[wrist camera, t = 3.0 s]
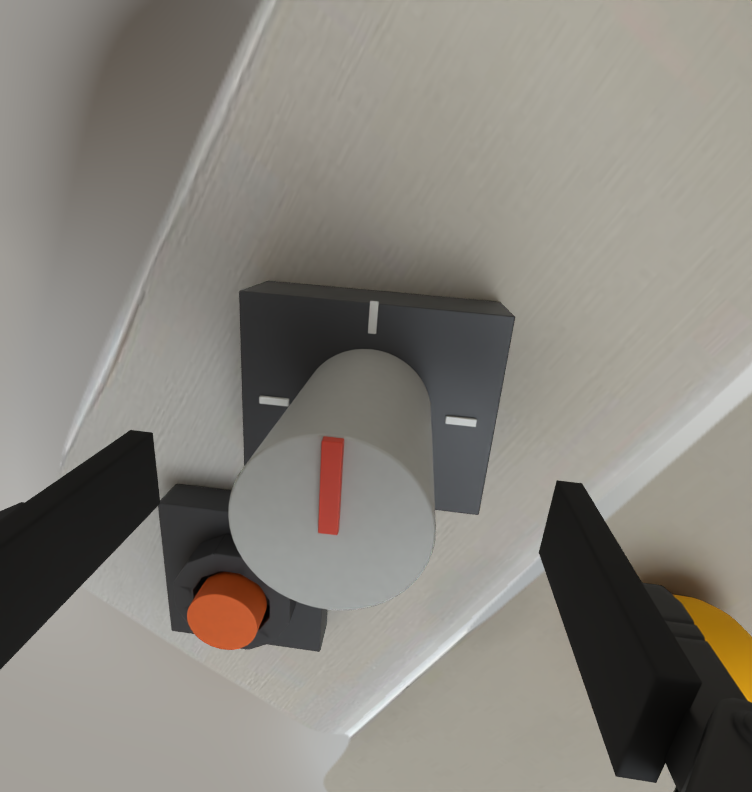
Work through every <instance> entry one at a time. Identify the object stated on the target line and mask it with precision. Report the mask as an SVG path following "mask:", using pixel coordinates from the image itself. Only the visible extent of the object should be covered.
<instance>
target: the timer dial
mask: <svg viewBox="0 0 752 792" xmlns="http://www.w3.org/2000/svg"><path fill="white" fill-rule="evenodd" d="M228 517H229V526H230V531H231V534H232V538H233V541H234V543H235V545H236V548H237V550H238V552H239V553H240V555H241V557H242V559H243V560H244V561H245V563H246V564H247V565H248V567H249V568H250V569H251V570H252V571H253V572H254V573H255V574H256V576H257V577H258V578H259V579H261V580H262V581H263V582H264V583H265V584H267V585H268V586H269V587H271V588H272V589H274V590H275V591H277V592H278V593H280V594H282V595H284V596H286V597H288V598H289V599H292V600H294V601H297V602H299V603H302V604H305V605H309V606H312V607H316V608H322V609H329V610H356V609H363V608H368V607H372V606H376V605H378V604H381V603H384V602H386V601H388V600H390V599H392V598H394V597H396V596H398V595H399V594H401V593H402V592H404V591H405V590H406V589H407V588H409V587H410V586H411V585H412V584H413V583H414V582H415V581H416V580H417V578H418V577H419V576H420V575H421V574H422V572H423V570H424V569H425V567H426V565H427V564H428V562H429V559H430V557H431V555H432V552H433V548H434V543H435V534H436V521H435V497H434V473H433V448H432V424H431V405H430V399H429V395H428V392H427V390H426V387H425V385H424V383H423V382H422V380H421V378H420V377H419V376H418V374H417V373H416V372H415V371H414V370H413V369H412V368H411V367H410V366H409V365H408V364H406V363H405V362H404V361H402V360H401V359H399V358H397V357H396V356H393V355H391V354H389V353H386V352H383V351H379V350H373V349H355V350H350V351H345V352H342V353H340V354H337V355H335V356H333V357H331V358H330V359H328V360H327V361H325V362H324V363H323V364H322V365H321V366H320V367H319V368H318V369H317V370H316V371H315V372H314V374H313V375H312V376H311V378H310V379H309V380H308V382H307V383H306V384H305V386H304V387H303V388H302V390H301V391H300V392H299V394H298V395H297V396H296V398H295V399H294V400H293V402H292V403H291V404H290V406H289V407H288V408H287V410H286V411H285V412H284V414H283V415H282V416H281V418H280V419H279V420H278V422H277V423H276V424H275V426H274V427H273V428H272V430H271V431H270V433H269V434H268V435H267V437H266V438H265V439H264V441H263V442H262V443H261V445H260V446H259V447H258V449H257V450H256V451H255V453H254V454H253V455H252V457H251V458H250V459H249V461H248V462H247V463H246V465H245V466H244V467H243V469H242V470H241V471H240V473H239V475H238V477H237V479H236V480H235V482H234V485H233V488H232V491H231V494H230V500H229V512H228Z"/></svg>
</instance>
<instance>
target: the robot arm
mask: <svg viewBox="0 0 752 792" xmlns="http://www.w3.org/2000/svg"><path fill="white" fill-rule="evenodd" d="M159 504H160V497H159V488H158V479H157V469H156V460H155V450H154V441H153V433H151V432H142V431H134V430H130V431H128V432H127V433H126V434H124V435H123V436H121V437H120V438H118V439H117V440H115V441H114V442H112V443H111V444H110V445H108V446H107V447H105V448H104V449H102V450H101V451H99V452H98V453H96V454H95V455H94V456H92V457H91V458H89V459H88V460H86V461H85V462H83V463H82V464H80V465H79V466H78V467H76V468H75V469H73V470H72V471H70V472H69V473H67V474H66V475H64V476H63V477H62V478H60V479H59V480H57V481H56V482H54V483H53V484H51V485H50V486H48V487H47V488H46V489H44V490H43V491H41V492H40V493H38V494H37V495H35V496H34V497H32V498H31V499H30V500H28V501H27V502H25V503H23V502H21V503H18V504H16V505H14V506H12V507H9V508H7V509H4V510H2V511H0V669H1V668H2V667H3V666H4V665H5V664H6V663H7V662H8V661H9V660H10V659H11V658H12V657H13V656H14V655H15V654H16V653H17V652H18V651H19V649H21V648H22V646H23V645H24V644H25V643H26V642H27V641H28V640H29V639H30V638H31V637H32V636H33V635H34V634H35V633H36V632H37V631H38V630H39V629H40V628H41V627H42V626H43V625H44V624H45V623H46V622H47V620H48V619H49V618H50V617H51V616H52V615H53V614H54V613H55V612H56V611H57V610H58V609H59V608H60V607H61V606H62V605H63V604H64V603H65V602H66V601H67V600H68V599H69V597H71V595H73V593H74V592H75V591H76V590H77V589H78V588H79V587H80V586H81V585H82V584H83V583H84V582H85V581H86V580H87V579H88V578H89V577H90V576H91V575H92V574H93V573H94V572H95V571H96V570H97V569H98V568H99V566H100V565H101V564H102V563H103V562H104V561H105V560H106V559H107V558H108V557H109V556H110V555H111V554H112V553H113V552H114V551H115V550H116V549H117V548H118V547H119V546H120V545H121V544H122V543H123V542H124V540H125V539H126V538H127V537H128V536H129V535H130V534H131V533H132V532H133V531H134V530H135V529H136V528H137V527H138V526H139V525H140V524H141V523H142V522H143V521H144V520H145V519H146V518H147V517H148V516H149V515H150V513H151V512H152V511H153V510H154V509H155V508H156V507H157V506H158V505H159ZM539 554H540V557H541V560H542V563H543V566H544V569H545V572H546V575H547V577H548V580H549V583H550V586H551V589H552V592H553V595H554V598H555V601H556V604H557V607H558V609H559V612H560V615H561V618H562V621H563V624H564V627H565V630H566V633H567V636H568V639H569V641H570V644H571V647H572V650H573V653H574V656H575V659H576V662H577V665H578V668H579V671H580V673H581V676H582V679H583V682H584V685H585V688H586V691H587V694H588V697H589V700H590V702H591V705H592V708H593V711H594V714H595V717H596V720H597V723H598V726H599V729H600V732H601V734H602V737H603V740H604V743H605V746H606V749H607V752H608V755H609V758H610V761H611V764H612V766H613V769H614V772H615V775H616V776H617V777H623V778H629V779H636V780H642V781H648V782H654V783H656V782H657V780H658V778H659V776H660V773H661V771H662V769H663V767H664V765H665V763H666V765H667V767H668V769H669V772H670V774H671V776H672V778H673V781H674V783H675V785H676V788H675V790H674V792H752V703H751V702H749V701H748V700H747V699H746V697H745V696H744V695H743V693H742V692H741V690H740V689H739V687H738V686H737V684H736V683H735V681H734V680H733V678H732V677H731V675H730V674H729V672H728V671H727V669H726V668H725V666H724V665H723V663H722V662H721V661H720V659H719V658H718V656H717V655H716V653H715V652H714V650H713V649H712V647H711V646H710V644H709V643H708V641H705V637H704V635H703V634H702V632H701V631H700V629H699V628H698V627H697V625H694V621H693V619H692V618H691V616H690V615H689V613H688V612H687V610H686V609H685V607H684V606H683V604H682V603H681V602H680V601H679V600H678V599H677V598H675V597H674V596H673V595H672V594H671V593H670V592H669V591H667V590H666V589H665V588H664V587H663V586H662V585H654V584H647V583H642V582H641V580H640V579H639V577H638V575H637V574H636V572H635V570H634V569H633V567H632V565H631V564H630V562H629V560H628V559H627V557H626V555H625V554H624V552H623V550H622V549H621V547H620V546H619V544H618V542H617V541H616V539H615V537H614V536H613V534H612V532H611V531H610V529H609V527H608V526H607V524H606V522H605V521H604V519H603V517H602V516H601V514H600V512H599V511H598V509H597V508H596V506H595V504H594V502H593V501H592V499H591V498H590V496H589V494H588V493H587V491H586V489H585V488H584V486H583V484H582V483H574V482H565V481H557V482H556V486H555V490H554V494H553V498H552V502H551V506H550V510H549V514H548V518H547V522H546V526H545V530H544V534H543V538H542V542H541V546H540V550H539Z"/></svg>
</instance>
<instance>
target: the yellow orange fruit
mask: <svg viewBox="0 0 752 792" xmlns="http://www.w3.org/2000/svg"><path fill="white" fill-rule="evenodd" d="M673 596H674V597H675V598H677V599H678V600H679V601H680V602H681V603H682V604H683V606H684V607H685V609H686V610H687V612H688V613H689V615H690V616H691V618H692V619H693V621H694V625H697V627H698V628H699V629H700V631H701V632H702V634H703V635H704V637H705V641H708V643H709V644H710V646H711V647H712V649H713V650H714V652H715V653H716V655H717V656H718V658H719V659H720V661H721V662H722V663H723V665H724V666H725V668H726V669H727V671H728V672H729V674H730V675H731V677H732V678H733V680H734V681H735V683H736V684H737V686H738V687H739V689H740V690H741V692H742V693H743V695H744V696H745V697H746V699H747V700H748V701H749V702H751V703H752V637H751V635H750V634H749V633H748V632H747V631H746V630H745V629H744V628H743V627H742V626H741V625H740V624H739V623H738V622H737V621H736V620H734V619H733V618H732V617H731V616H729V615H728V614H727V613H725V612H723V611H722V610H720V609H718V608H716V607H714V606H712V605H710V604H708V603H706V602H704V601H702V600H699V599H696V598H692V597H686V596H680V595H673Z"/></svg>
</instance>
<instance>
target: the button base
mask: <svg viewBox="0 0 752 792" xmlns="http://www.w3.org/2000/svg"><path fill="white" fill-rule="evenodd" d="M230 494H231V490H223V489H215V488H207V487H198V486H190V485H182V484H176V485H175V486H174V487H173V488H172V489H171V490H170V491H169V492H168V493H167V494H166V495H165V496H164V497H163V498H162V499H161V500H160V504H159V505H158V509H159V518H160V527H161V536H162V545H163V554H164V564H165V573H166V582H167V591H168V600H169V609H170V619H171V628H172V631H178V632H185V633H192V634H194V633H193V631H192V630H191V628H190V626H189V624H188V620H187V611H188V608H189V606H190V604H191V603H192V601H193V599H194V598H195V596H196V595H197V593H198V591H199V590H200V588H201V586H202V585H203V583H204V582H205V581H206V579H208V578H209V577H210V576H212V575H214V574H217V573H221V572H230V573H238V574H241V575H243V576H244V577H246V578H248V579H250V580H251V581H253V582H255V583H256V584H258V585H259V586H260V588H261V589H262V590H263V592H264V594H265V596H266V600H267V608H266V612H265V614H264V617H263V619H262V622H261V624H260V626H259V629H258V631H257V634H256V636H255V638H254V639H253V641H252V642H251V643H249V644H248V645H247V646H245V647H242V648H241V649H252V648H255V647H259V646H262V645H266V644H269V645H276V646H283V647H290V648H297V649H304V650H311V651H318V652H319V651H320V650H321V646H322V642H323V637H324V633H325V629H326V625H327V609H322V608H316V607H312V606H309V605H305V604H302V603H299V602H297V601H294V600H292V599H289V598H288V597H286V596H284V595H282V594H280V593H278V592H277V591H275V590H274V589H272V588H271V587H269V586H268V585H267V584H265V583H264V582H263V581H262V580H261V579H259V578H258V577H257V576H256V574H255V573H254V572H253V571H252V570H251V569H250V568H249V567H248V565H247V564H246V563H245V561H244V560H243V559H242V557H241V555H240V553H239V552H238V550H237V548H236V545H235V543H234V541H233V538H232V534H231V531H230V526H229V517H228V512H229V500H230Z"/></svg>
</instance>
